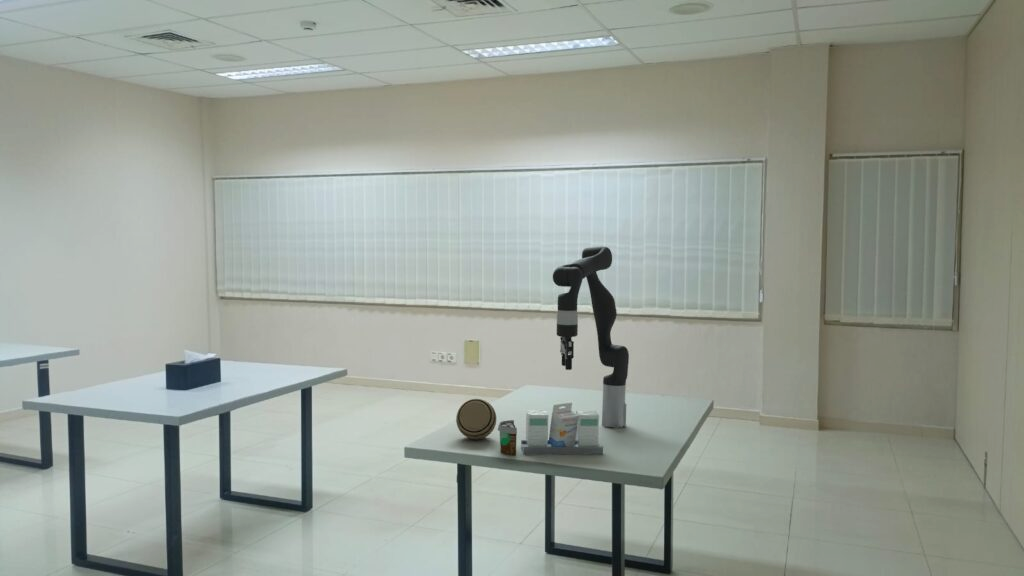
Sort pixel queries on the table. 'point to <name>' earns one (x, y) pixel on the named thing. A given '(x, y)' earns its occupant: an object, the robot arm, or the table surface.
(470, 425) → the mechanical component
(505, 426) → the food container
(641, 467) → the table surface
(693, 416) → the table surface
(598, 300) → the robot arm
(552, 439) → the ink box
